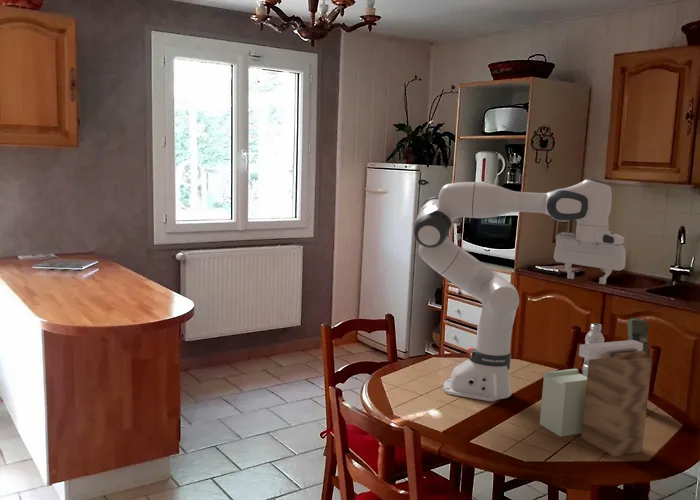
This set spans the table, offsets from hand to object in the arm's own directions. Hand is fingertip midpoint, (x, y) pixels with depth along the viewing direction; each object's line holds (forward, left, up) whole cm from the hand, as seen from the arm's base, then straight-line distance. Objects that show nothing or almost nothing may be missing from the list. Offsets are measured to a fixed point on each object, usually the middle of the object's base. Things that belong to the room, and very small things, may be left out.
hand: (586, 281), depth 186 cm
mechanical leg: (+21, +15, -43) cm, 50 cm away
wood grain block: (+7, -18, -42) cm, 47 cm away
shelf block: (-3, -9, -42) cm, 44 cm away
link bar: (+4, -20, -16) cm, 26 cm away
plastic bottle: (+14, +42, -43) cm, 61 cm away
